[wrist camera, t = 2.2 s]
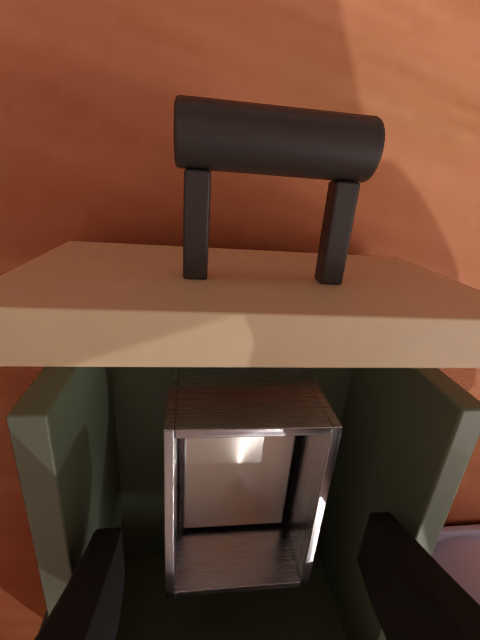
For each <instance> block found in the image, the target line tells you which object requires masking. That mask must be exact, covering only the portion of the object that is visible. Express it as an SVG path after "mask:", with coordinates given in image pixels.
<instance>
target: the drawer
mask: <svg viewBox="0 0 480 640" xmlns="http://www.w3.org/2000/svg"><path fill="white" fill-rule="evenodd" d="M384 142H385V128H384V124H383V121H382V120H381V119H380V118H379V117H377V116H371V115H361V114H352V113H343V112H333V111H324V110H315V109H306V108H296V107H287V106H278V105H268V104H259V103H250V102H241V101H231V100H222V99H213V98H203V97H194V96H185V95H178V96H176V98H175V102H174V159H175V164H176V167H178V168H185V170H184V208H183V246H164V245H144V244H124V243H104V242H84V241H68V242H66V243H64V244H62V245H60V246H58V247H56V248H54V249H52V250H50V251H48V252H46V253H44V254H42V255H40V256H38V257H36V258H34V259H32V260H30V261H28V262H26V263H24V264H22V265H20V266H18V267H16V268H14V269H12V270H10V271H8V272H6V273H4V274H2V275H0V366H17V367H45V368H44V369H43V370H42V372H41V373H40V374H39V375H38V377H37V378H36V379H35V380H34V382H33V383H32V384H31V385H30V387H29V388H28V389H27V390H26V392H25V393H24V394H23V396H22V397H21V398H20V399H19V401H18V402H17V403H16V404H15V406H14V407H13V408H12V409H11V411H10V412H9V413H8V414H7V417H6V419H7V424H8V428H9V433H10V438H11V442H12V447H13V452H14V456H15V461H16V466H17V470H18V475H19V480H20V484H21V489H22V494H23V499H24V503H25V508H26V513H27V517H28V522H29V527H30V531H31V536H32V541H33V545H34V550H35V555H36V559H37V564H38V569H39V574H40V578H41V583H42V588H43V592H44V597H45V602H46V606H47V611H48V616H49V615H50V613H51V611H52V610H53V608H54V606H55V605H56V603H57V601H58V599H59V598H60V596H61V594H62V593H63V591H64V589H65V587H66V586H67V584H68V582H69V580H70V578H71V576H72V575H73V573H74V571H75V569H76V567H77V565H78V564H79V562H80V560H81V558H82V556H83V554H84V552H85V550H86V548H87V546H88V544H89V542H90V540H91V537H92V535H93V533H94V532H95V531H96V530H97V529H100V528H117V527H121V528H122V541H123V554H124V567H125V582H124V590H123V597H122V605H121V612H120V619H119V625H118V630H117V634H116V639H115V640H386V637H385V635H384V633H383V630H382V628H381V626H380V623H379V621H378V618H377V616H376V614H375V611H374V609H373V607H372V604H371V602H370V599H369V596H368V593H367V590H366V587H365V584H364V581H363V577H362V574H361V571H360V568H359V564H358V561H357V557H358V553H359V550H360V546H361V543H362V539H363V536H364V533H365V529H366V526H367V522H368V519H369V515H370V513H375V512H390V513H391V514H392V515H393V516H394V517H395V518H396V519H397V520H398V521H399V522H400V523H401V525H402V526H403V527H404V528H405V529H406V530H407V531H408V532H409V533H410V534H411V535H412V536H413V537H414V538H415V539H416V540H417V542H418V543H419V544H420V545H421V546H422V547H423V548H424V549H425V550H426V551H427V552H428V553H429V554H430V555H432V553H433V550H434V548H435V545H436V543H437V540H438V538H439V535H440V533H441V530H442V528H443V525H444V523H445V520H446V518H447V515H448V513H449V510H450V508H451V505H452V503H453V500H454V498H455V495H456V493H457V490H458V488H459V485H460V483H461V480H462V478H463V476H464V473H465V471H466V468H467V466H468V463H469V461H470V458H471V456H472V453H473V451H474V448H475V446H476V443H477V441H478V438H479V436H480V401H479V400H477V399H476V398H475V397H473V396H472V395H471V394H470V393H468V392H467V391H466V390H465V389H463V388H462V387H461V386H460V385H458V384H457V383H456V382H454V381H453V380H452V379H451V378H449V377H448V376H447V375H446V374H444V373H443V372H442V371H440V370H439V369H438V368H480V290H478V289H475V288H473V287H470V286H467V285H465V284H462V283H460V282H457V281H455V280H452V279H450V278H447V277H445V276H442V275H440V274H437V273H435V272H432V271H430V270H427V269H425V268H422V267H419V266H417V265H414V264H412V263H409V262H407V261H404V260H402V259H399V258H397V257H385V256H365V255H347V253H348V247H349V242H350V236H351V231H352V226H353V220H354V215H355V209H356V204H357V199H358V193H359V188H360V183H358V182H365V181H367V180H369V179H370V178H371V177H372V175H373V174H374V172H375V171H376V169H377V167H378V165H379V162H380V159H381V156H382V153H383V148H384ZM209 170H210V171H223V172H235V173H248V174H260V175H273V176H285V177H298V178H310V179H323V180H332V181H330V182H329V185H328V192H327V198H326V205H325V211H324V218H323V224H322V231H321V237H320V244H319V250H318V253H304V252H284V251H264V250H244V249H224V248H208V246H209V220H210V193H211V172H210V171H209ZM335 180H336V181H335ZM171 367H291V368H308V369H309V370H310V372H311V374H312V376H313V377H314V379H315V381H316V382H317V384H318V386H319V387H320V389H321V391H322V392H323V394H324V396H325V398H326V399H327V401H328V403H329V404H330V406H331V408H332V409H333V411H334V413H335V414H336V416H337V418H338V419H339V421H340V423H341V425H342V426H343V428H342V433H341V438H340V442H339V447H338V451H337V456H336V460H335V465H334V469H333V474H332V478H331V483H330V487H329V492H328V497H327V501H326V506H325V510H324V515H323V519H322V524H321V528H320V533H319V537H318V542H317V546H316V551H315V556H314V560H313V565H312V569H311V574H310V578H309V583H308V586H304V587H293V588H281V589H269V590H257V591H245V592H233V593H221V594H210V595H198V596H186V597H173V598H165V552H164V474H163V426H164V419H165V411H166V403H167V395H168V387H169V380H170V372H171Z"/></svg>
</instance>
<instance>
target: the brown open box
mask: <svg viewBox="0 0 480 640" xmlns="http://www.w3.org/2000/svg"><path fill="white" fill-rule="evenodd" d="M342 428H343V426H342V425H341V423H340V421H339V419H338V418H337V416H336V414H335V413H334V411H333V409H332V408H331V406H330V404H329V403H328V401H327V399H326V398H325V396H324V394H323V392H322V391H321V389H320V387H319V386H318V384H317V382H316V381H315V379H314V377H313V376H312V374H311V372H310V370H309V369H308V368H291V367H171V372H170V380H169V387H168V395H167V403H166V411H165V419H164V426H163V474H164V552H165V598H173V597H186V596H198V595H210V594H221V593H233V592H245V591H257V590H269V589H281V588H293V587H304V586H308V583H309V578H310V574H311V569H312V565H313V560H314V556H315V551H316V546H317V542H318V537H319V533H320V528H321V524H322V519H323V515H324V510H325V506H326V501H327V497H328V492H329V487H330V483H331V478H332V474H333V469H334V465H335V460H336V456H337V451H338V447H339V442H340V438H341V433H342Z"/></svg>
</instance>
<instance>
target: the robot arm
mask: <svg viewBox="0 0 480 640" xmlns="http://www.w3.org/2000/svg"><path fill="white" fill-rule="evenodd" d="M357 561H358V564H359V568H360V571H361V574H362V577H363V581H364V584H365V587H366V590H367V593H368V596H369V599H370V602H371V604H372V607H373V609H374V611H375V614H376V616H377V618H378V621H379V623H380V626H381V628H382V630H383V633H384V635H385V637H386V640H480V524H477V525H461V526H446V527H443V528H442V530H441V533H440V535H439V538H438V540H437V543H436V545H435V548H434V550H433V553H432V555H430V554H429V553H428V552H427V551H426V550H425V549H424V548H423V547H422V546H421V545H420V544H419V543H418V542H417V540H416V539H415V538H414V537H413V536H412V535H411V534H410V533H409V532H408V531H407V530H406V529H405V528H404V527H403V526H402V525H401V523H400V522H399V521H398V520H397V519H396V518H395V517H394V516H393V515H392V514H391V513H390V512H375V513H370V515H369V519H368V522H367V526H366V529H365V533H364V536H363V539H362V543H361V546H360V550H359V553H358V557H357ZM124 582H125V567H124V554H123V541H122V528H121V527H117V528H100V529H97V530H96V531H95V532H94V533H93V535H92V537H91V540H90V542H89V544H88V546H87V548H86V550H85V552H84V554H83V556H82V558H81V560H80V562H79V564H78V565H77V567H76V569H75V571H74V573H73V575H72V576H71V578H70V580H69V582H68V584H67V586H66V587H65V589H64V591H63V593H62V594H61V596H60V598H59V599H58V601H57V603H56V605H55V606H54V608H53V610H52V611H51V613H50V615H49V616H48V618H47V620H46V622H45V623H44V625H43V627H42V628H41V630H40V631H39V633H38V635H37V636H36V638H35V639H34V640H115V639H116V634H117V630H118V625H119V619H120V612H121V605H122V597H123V590H124Z"/></svg>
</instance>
